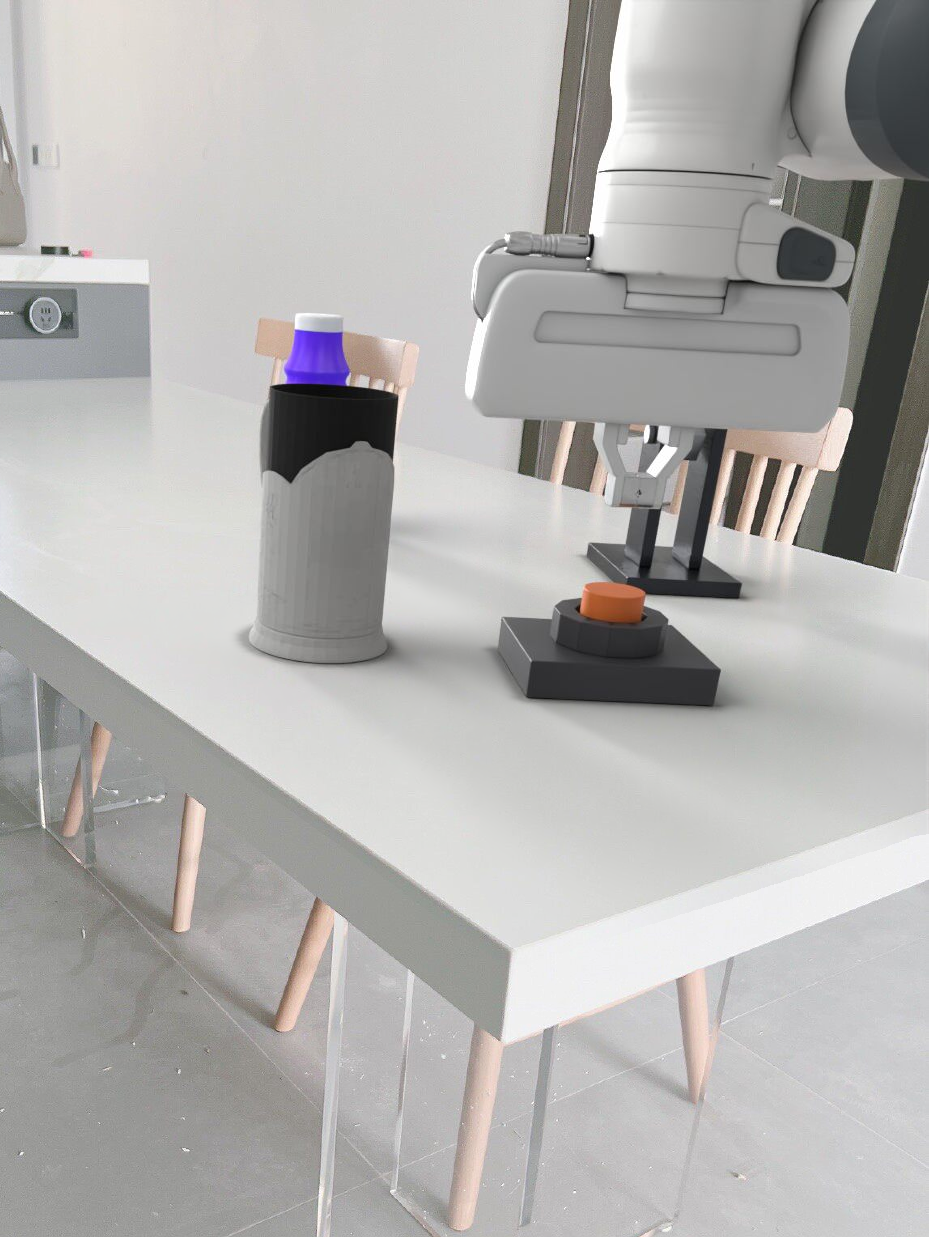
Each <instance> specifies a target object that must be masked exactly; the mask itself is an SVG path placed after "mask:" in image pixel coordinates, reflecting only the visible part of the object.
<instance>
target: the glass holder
mask: <svg viewBox="0 0 929 1237" xmlns="http://www.w3.org/2000/svg"><path fill="white" fill-rule="evenodd" d="M268 389H269V392H268V399H267V401H266V402H265V404H264V405H263V408H262V413H261V415H260V416H261V417H260V423H259V425H260V426H259V442H258V443H259V445H258V446H259V449H258V450H259V451H258V453H259V454H258V457H259V475H260V484H261V504H260V505H261V506H260V507H261V508H260V529H259V530H260V531H259V555H258V575H257V576H258V577H257V601H256V603H257V604H256V616H255V619H254V620H255V621H254V624H253V626H252V627H251V629H250V631H249V633H248V641H249V644H251V645H252V647H254V648H256V650H259V651H261V652H263V653H266V654H268V655H271V656H273V657H278V658H283V659H287V660H291V661H297V662H298V661H299V662H306V663H317V664H343V663H344V664H347V663H356V662H363V661H367V660H371V659H375V658H377V657H379V656H381V655H384V653H385V652H386V651H387V649H388V641H387V639H386V636H385V633H384V627H383V616H384V605H385V595H386V594H385V592H386V582H387V571H388V559H389V558H388V557H389V550H390V549H389V548H390V546H389V545H390V537H391V536H390V535H391V524H392V513H393V503H394V502H393V501H394V491H395V464H394V457H395V443H396V434H397V433H396V431H397V421H398V420H397V419H398V408H399V394H397V393H395V392H391V391H387V390H383V389H377V388H370V387H365V386H354V385H347V386H345V385H331V384H309V383H291V384H285V383H278V384H273V385H270V386H269V388H268Z"/></svg>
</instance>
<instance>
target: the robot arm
mask: <svg viewBox="0 0 929 1237" xmlns="http://www.w3.org/2000/svg"><path fill="white" fill-rule="evenodd" d="M609 80H610V90H611V97H612V120H611V126H610V131H609V134H608V138H607V141H606V144H605V146H604V149H603V152H602V153H601V157H600V160H599V163H598V167H597V174H596V180H595V189H594V196H593V204H592V212H591V219H590V226H589V234H576V233H575V234H574V233H551V234H538V233H533V232H531V231H523V230H522V231H521V230H517V231H509V232H506V234H505V236H504V238H500V239H497V240H495V241H493V242H491V243H489V244H488V245H486V247H485V248H484V249H483V250H482V251H481V252H480V254H479V256H478V257H477V259H476V261H475V264H474V268H473V275H472V276H473V277H472V287H471V303H472V308H473V310H474V313H475V314H476V316H477V318H478V319H477V323H476V327H475V331H474V335H473V339H472V340H473V341H472V345H471V350H470V354H469V360H468V364H467V371H466V378H465V379H466V380H465V388H464V392H465V393H464V394H465V397H466V399H467V401H468V402H469V403H470V405H471V407H472V408H473V409H474V410H475V411H476V412H477V413H478V414H479V415H481V416H483V417H484V418H491V419H511V420H512V419H513V420H529V421H530V420H533V421H534V420H535V421H553V422H554V421H556V422H573V423H574V422H575V423H593V424H594V430H593V437H592V440H593V443H594V445H595V448H596V450H597V452H598V455H599V457H600V460H601V463H602V465H603V467H604V469H605V471H606V472H607V473H606V474H607V475H606V481H605V487H604V495H603V496H604V504H605V505H606V506H608V507H609V508H626V509H627V508H628V509H632V508H645V509H660V508H661V506H662V507H663V504H664V498H663V497H665V493H664V491H665V492H666V487H665V485H666V486H667V481H666V479H667V480H668V479H670V478H671V476H672V475H673V474H674V473H675V471H676V470H677V469H678V468H679V466H680V465H681V464H682V463H683V461H685V460H684V458H685V457H686V456H687V454H688V453H689V452H690V451H691V449H692V445H693V440H694V434H695V429H696V428H716V429H728V430H736V431H737V430H739V431H740V430H741V431H758V432H780V433H782V432H783V433H802V434H817V433H819V432H821V431H822V430H823V429H824V428H825V427H826V426H827V425H828V424H829V423H830V422H831V421H832V420H833V418H834V417H835V416H836V414H837V412H838V410H839V406H840V403H841V399H842V398H841V397H842V393H843V389H844V383H845V377H846V372H847V371H846V370H847V365H848V355H849V347H850V336H851V317H850V310H849V307H848V304H847V302H846V300H845V299H844V298H843V297H842V295H840V294H839V293H838V292H837V291H835V290H833V289H831V288H837V287H841V286H843V285H845V284H846V283H847V282H848V281H849V279H850V278H851V275H852V272H853V269H854V264H855V260H856V250H855V248H854V246H853V245H852V243H851V242H849V241H848V240H846V239H843V238H841V237H839V236H837V235H836V234H835V235H834V234H832V233H830V232H828V231H826V230H824V229H821V228H818V227H816V226H814V225H812V224H810V223H808V222H805V221H804V220H801V219H798V218H797V217H794V216H793V215H790V214H788V213H786V212H784V211H782V210H779V209H778V208H775V207H773V206H772V205H771V204H770V201H771V196H772V192H773V186H774V180H775V175H776V170H777V168H779V169H783V170H787V171H791V172H793V173H795V174H798V175H800V176H802V177H806V178H809V179H813V180H819V181H826V182H827V181H828V182H832V181H833V182H834V181H860V182H869V181H882V180H883V181H884V180H900V179H906V180H913V181H923V182H929V0H621V4H620V9H619V15H618V20H617V27H616V34H615V39H614V46H613V53H612V60H611V66H610V79H609ZM499 249H503V251H504V252H505V254H503V253H502V254H501V253H493V252H495V251H497V250H499ZM533 255H534V256H533ZM537 255H538V256H537ZM631 425H636V426H637V425H638V426H646V425H654V426H659V430H658V436H657V440H658V441H659V442H661V443H663V444H665V446H664V447H663V449H662V450H661V451H660V453H659V454H658V456H657V457H656V459H655V460H654V461H653V463H652V464H651V466H650V467H649V469H648V470H647V473H642V472H638V471H637V472H635V471H634V472H633V471H627V469H626V468H625V465H624V463H623V460H622V457H621V454H620V452H619V449H618V446H626V445H627V444H628V441H629V434H630V427H631ZM617 445H618V446H617ZM662 503H663V504H662Z"/></svg>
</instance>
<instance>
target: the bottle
mask: <svg viewBox="0 0 929 1237" xmlns="http://www.w3.org/2000/svg"><path fill="white" fill-rule="evenodd" d="M294 320H295V322H294V335H293V336H294V337H293V343H292V348H291V351H290V354H289V356H288V358H287V360H286V362H285V364H284V365H283V371H284V374H285V375H286V380H285V383H284V384H291V383H309V384H331V385H345V386H348V385H347V379H348V377H349V376H350V373H351V370H350V369H351V368H350V366H349V365H348V363H347V360H346V356H345V352H344V346H343V333H344V316H342V315H339V314H331V313H318V312H299V313H295V319H294Z"/></svg>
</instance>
